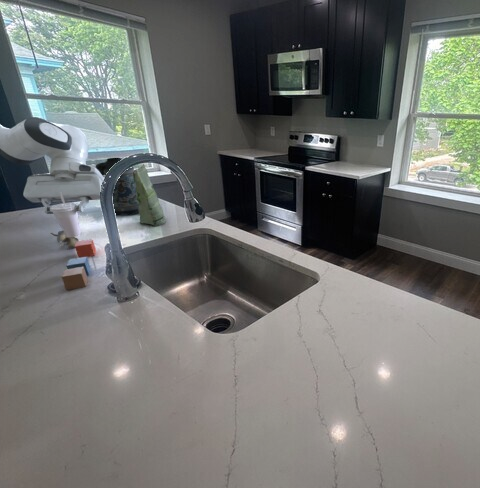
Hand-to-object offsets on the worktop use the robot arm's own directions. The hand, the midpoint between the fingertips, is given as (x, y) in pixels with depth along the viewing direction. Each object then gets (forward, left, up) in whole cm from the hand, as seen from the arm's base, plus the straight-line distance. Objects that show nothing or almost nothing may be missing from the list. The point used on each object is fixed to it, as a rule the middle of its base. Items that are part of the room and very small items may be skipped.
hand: (64, 212), depth 90 cm
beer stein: (+11, +53, -18) cm, 57 cm away
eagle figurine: (-7, +19, -18) cm, 27 cm away
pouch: (+21, +32, -18) cm, 43 cm away
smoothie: (0, +1, -8) cm, 8 cm away
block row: (0, -3, -18) cm, 18 cm away
